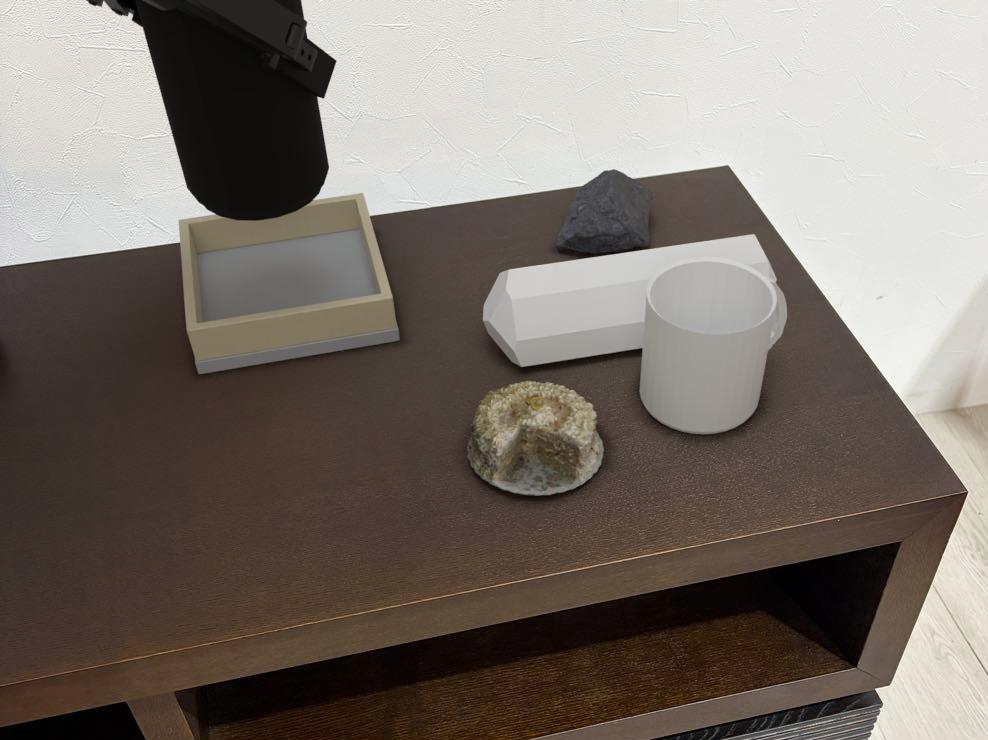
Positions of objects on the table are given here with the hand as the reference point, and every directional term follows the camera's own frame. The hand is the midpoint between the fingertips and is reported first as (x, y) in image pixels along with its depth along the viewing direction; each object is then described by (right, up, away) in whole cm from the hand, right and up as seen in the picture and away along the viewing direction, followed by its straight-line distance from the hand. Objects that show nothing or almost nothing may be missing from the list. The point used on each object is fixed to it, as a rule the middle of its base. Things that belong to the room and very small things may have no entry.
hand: (263, 60), depth 79 cm
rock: (+26, -7, +20) cm, 33 cm away
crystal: (+27, -17, +11) cm, 34 cm away
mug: (+33, -23, +5) cm, 41 cm away
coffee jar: (-1, -8, +5) cm, 9 cm away
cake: (+19, -28, +1) cm, 34 cm away
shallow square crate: (-1, -14, +14) cm, 20 cm away
